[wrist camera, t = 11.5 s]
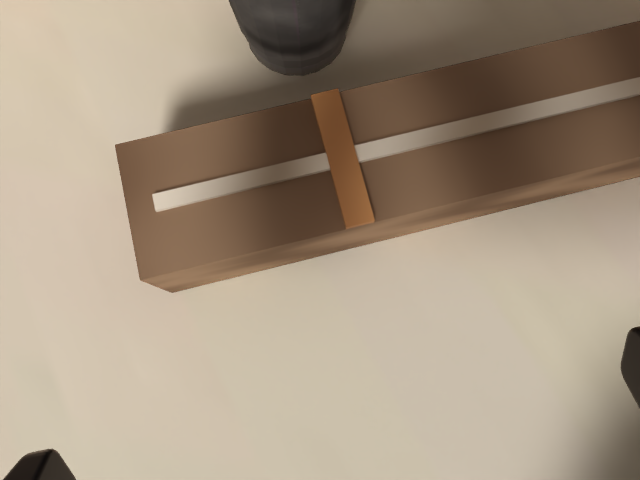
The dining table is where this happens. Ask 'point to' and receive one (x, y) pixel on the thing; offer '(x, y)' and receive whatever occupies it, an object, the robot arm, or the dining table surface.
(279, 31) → the beverage cup
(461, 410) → the dining table surface
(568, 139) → the slotted wooden bar
